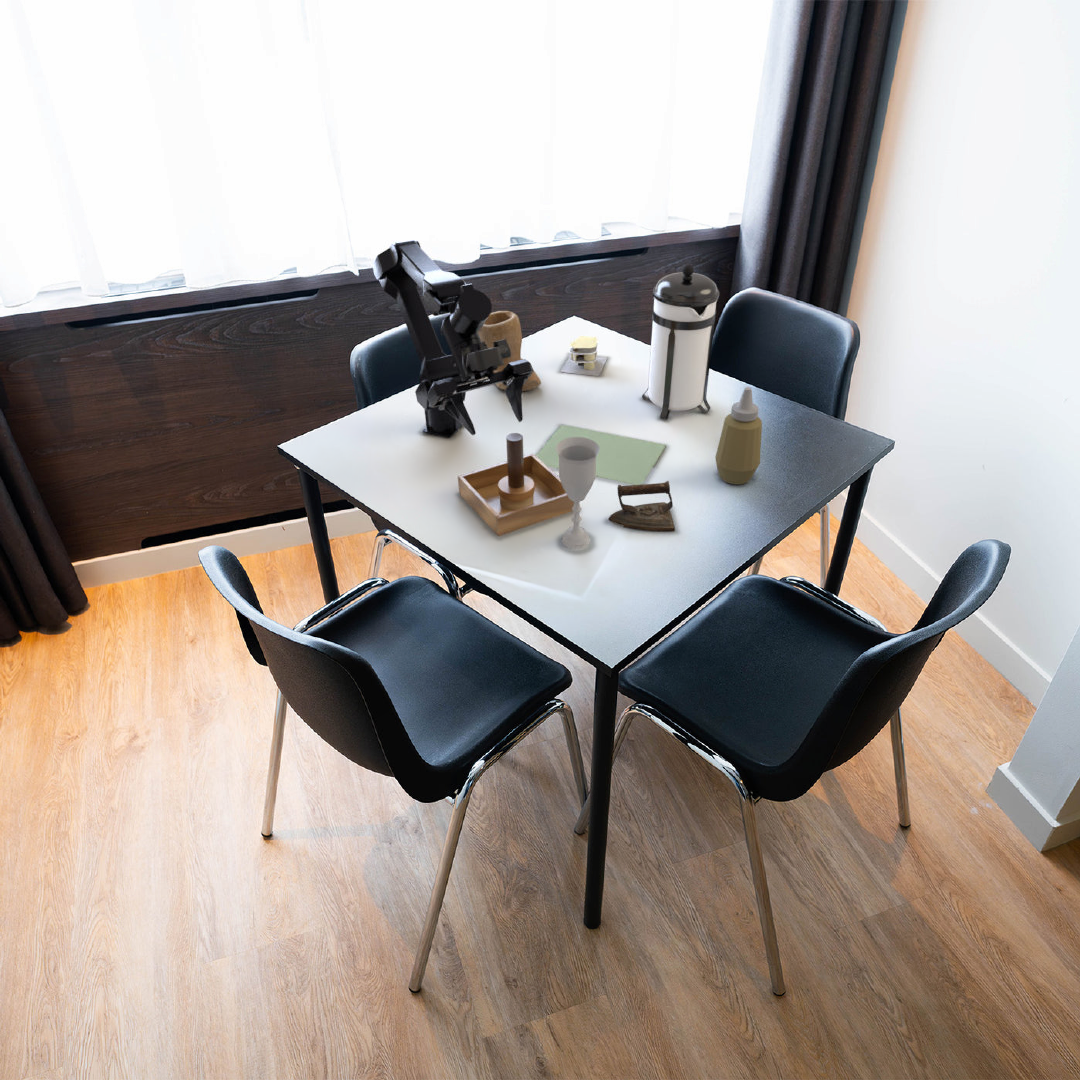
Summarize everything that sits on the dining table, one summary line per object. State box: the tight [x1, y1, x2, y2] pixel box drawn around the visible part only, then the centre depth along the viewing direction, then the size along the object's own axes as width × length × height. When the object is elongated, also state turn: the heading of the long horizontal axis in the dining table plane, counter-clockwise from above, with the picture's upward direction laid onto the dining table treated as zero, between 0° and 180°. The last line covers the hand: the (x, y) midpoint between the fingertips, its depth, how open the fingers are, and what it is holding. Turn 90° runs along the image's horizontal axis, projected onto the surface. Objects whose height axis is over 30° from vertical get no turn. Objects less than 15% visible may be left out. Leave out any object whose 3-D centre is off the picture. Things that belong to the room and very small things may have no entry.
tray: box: [457, 452, 574, 537], centre depth 149 cm, size 15×15×4 cm
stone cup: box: [478, 310, 542, 392], centre depth 185 cm, size 15×12×15 cm
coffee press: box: [641, 263, 720, 421], centre depth 171 cm, size 17×16×30 cm
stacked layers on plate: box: [560, 335, 608, 377], centre depth 194 cm, size 10×9×6 cm
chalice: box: [556, 437, 600, 550], centre depth 135 cm, size 7×7×18 cm
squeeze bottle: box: [714, 386, 763, 485], centre depth 151 cm, size 8×8×18 cm
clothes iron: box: [608, 480, 676, 533], centre depth 143 cm, size 7×11×10 cm, turn 92°
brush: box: [498, 432, 535, 510], centre depth 146 cm, size 6×6×13 cm
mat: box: [535, 424, 667, 485], centre depth 163 cm, size 22×16×1 cm
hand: (497, 427), depth 147 cm, fingers open, 9 cm apart
